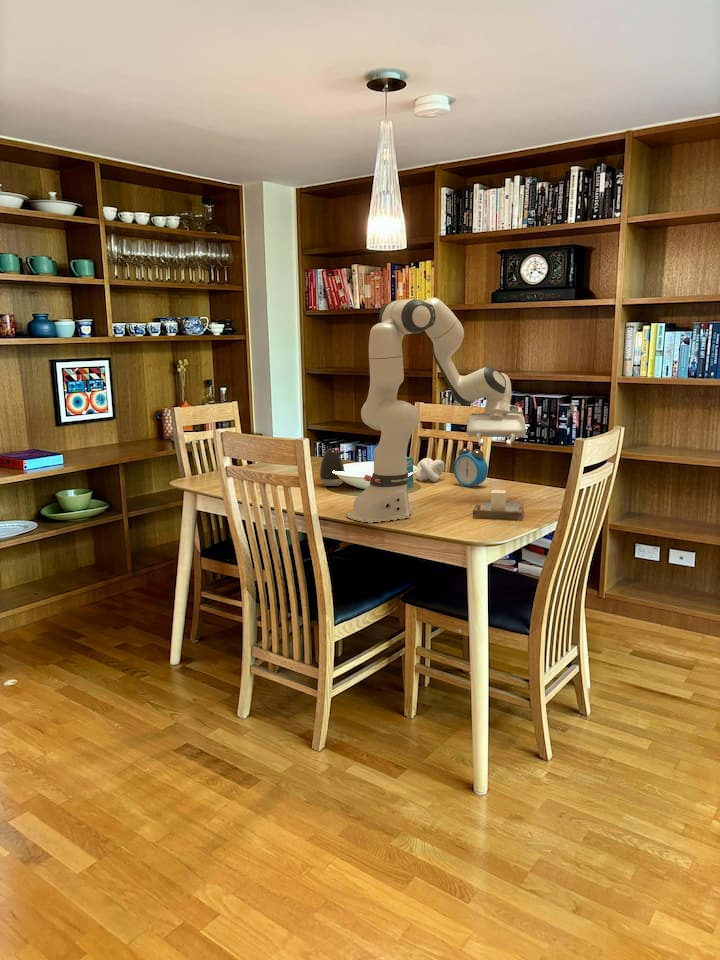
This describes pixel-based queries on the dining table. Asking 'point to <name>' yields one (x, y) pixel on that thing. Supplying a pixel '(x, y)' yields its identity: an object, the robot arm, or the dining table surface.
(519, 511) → the brown wooden tray
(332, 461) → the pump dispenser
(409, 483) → the data package
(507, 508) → the grey mat
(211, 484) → the dining table surface
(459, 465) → the alarm clock
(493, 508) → the cream block
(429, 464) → the white decorative knot
